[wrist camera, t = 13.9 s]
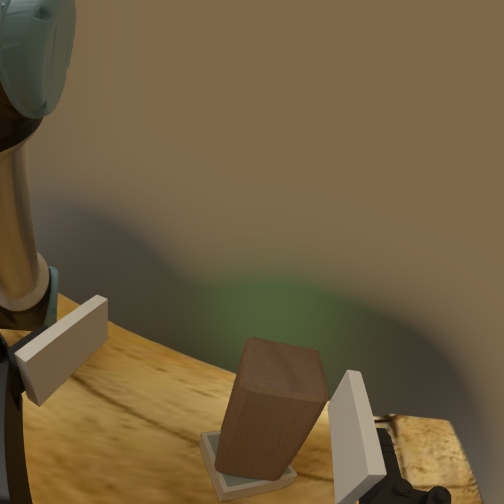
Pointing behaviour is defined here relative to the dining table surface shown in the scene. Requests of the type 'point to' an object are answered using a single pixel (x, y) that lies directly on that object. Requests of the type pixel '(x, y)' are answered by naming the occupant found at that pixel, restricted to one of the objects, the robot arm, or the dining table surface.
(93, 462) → the dining table surface
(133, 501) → the dining table surface
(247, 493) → the tray
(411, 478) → the dining table surface
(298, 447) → the block
